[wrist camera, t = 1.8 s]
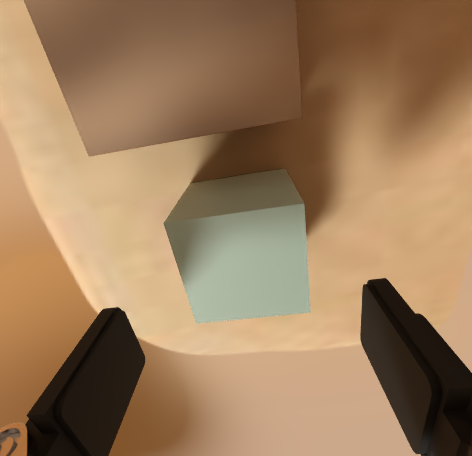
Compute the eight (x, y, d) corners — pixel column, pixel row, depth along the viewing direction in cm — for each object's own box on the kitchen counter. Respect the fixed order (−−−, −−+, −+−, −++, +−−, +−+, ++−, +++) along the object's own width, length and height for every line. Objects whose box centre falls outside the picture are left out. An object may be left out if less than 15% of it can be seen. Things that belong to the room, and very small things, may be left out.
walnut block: (44, -87, 11) (-48, -172, 8) (268, -155, 10) (279, -289, 7) (124, 143, 16) (88, 156, 12) (288, 113, 15) (302, 117, 11)
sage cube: (190, 182, 17) (163, 223, 11) (284, 167, 16) (304, 203, 11) (210, 260, 19) (196, 323, 14) (291, 250, 18) (310, 312, 13)
